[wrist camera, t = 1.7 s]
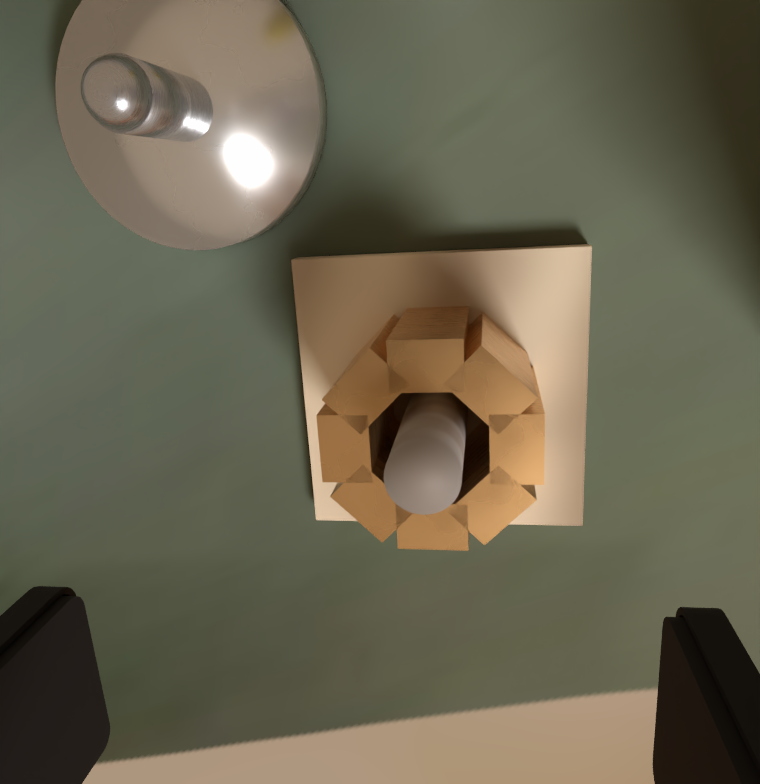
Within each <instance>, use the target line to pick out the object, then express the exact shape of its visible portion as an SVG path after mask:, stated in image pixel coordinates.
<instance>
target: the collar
mask: <svg viewBox="0 0 760 784" xmlns="http://www.w3.org/2000/svg"><path fill="white" fill-rule="evenodd" d="M439 392H452V393H453V394H454V395H456V396H457V397H458V398H459V399H460V400H461V401H462V402H463V403H464V404H465V405H466V406H468V407H469V408H470V409H471V410H472V411H473V412H474V413H475V414H476V415H477V416H478V417H480V418H481V419H482V420H483V421H482V422H481V423H480V424H479V425H478V426H477V427H476V428H475V429H474V430H473V431H472V432H471V433H470V434H469V435H468V436H467V437H466V439H465V450H464V461H463V472H462V483H461V489H460V492H459V494H458V496H457V498H456V499H455V501H454V502H453V503H452V504H451V505H450V506H449V507H448V508H446V509H444V510H443V511H440V512H438V513H434V514H427V515H422V514H415V513H411V512H409V511H406V510H404V509H403V508H401V507H400V506H398V505H397V504H396V503H395V502H394V501H393V500H392V499H391V498H390V496H389V494H388V493H387V490H386V488H385V484H384V469H385V466H386V463H387V460H388V458H389V455H390V452H391V449H392V447H393V444H394V441H395V438H396V436H397V433H398V430H399V427H400V425H401V421H400V420H399V419H398V418H397V417H396V416H395V415H394V400H395V399H396V398H397V397H398V396H399V395H400V394H401V393H439ZM322 401H323V402H325V404H324V406H323V407H322V408H321V410H320V411H319V412H318V414H317V415H316V418H317V429H318V439H319V450H320V461H321V472H322V482H337V484H336V486H335V488H334V490H333V492H332V494H331V496H330V497H331V498H332V499H333V500H334V501H336V502H337V503H338V504H339V505H340V506H341V507H342V508H343V509H345V510H346V511H347V512H348V513H349V514H350V515H351V516H353V517H354V518H355V519H356V520H357V521H358V522H359V523H361V524H362V525H363V526H364V527H365V528H366V529H367V530H369V531H370V532H371V533H372V534H373V535H374V536H375V537H377V538H378V539H379V540H380V541H381V542H383V541H384V540H385V539H386V538H387V537H389V536H390V535H391V534H392V533H393V532H394V531H395V530H396V529H397V541H398V549H431V550H466V551H468V548H469V532H470V533H471V534H472V535H474V536H475V537H476V538H477V539H478V540H479V541H480V542H481V543H483V544H484V545H485V544H486V543H487V542H489V541H490V540H491V539H492V538H493V537H494V536H496V535H497V534H498V533H499V532H500V531H501V530H503V529H504V528H505V527H506V526H507V525H508V524H509V523H511V522H512V521H513V520H514V519H515V518H516V517H518V516H519V515H520V514H521V513H522V512H523V511H525V510H526V509H527V508H528V507H529V506H530V505H532V504H533V503H534V502H535V501H536V500H537V498H536V492H535V485H544V454H545V412H544V408H543V404H542V400H541V396H540V391H539V387H538V383H537V379H536V375H535V371H534V367H533V366H530V361H529V357H528V353H527V352H526V351H525V350H524V349H523V348H522V347H521V346H520V345H518V344H517V343H516V342H515V341H514V340H513V339H512V338H511V337H510V336H509V335H508V334H507V333H506V332H505V331H503V330H502V329H501V328H500V327H499V326H498V325H497V324H496V323H495V322H494V321H493V320H492V319H491V318H490V317H489V316H487V315H486V314H485V313H484V312H482V313H481V314H480V315H479V316H478V317H477V318H476V319H475V320H474V321H473V322H472V323H471V324H470V325H469V306H451V307H420V308H407V309H406V310H405V312H404V314H403V315H402V317H401V318H400V319H399V318H398V317H397V316H396V315H395V314H393V315H392V317H391V318H390V319H389V320H388V321H387V322H386V323H385V324H384V325H383V326H382V327H381V328H380V330H379V331H378V332H377V333H376V334H375V335H374V336H373V337H372V338H371V339H370V340H369V342H368V343H367V344H366V345H365V346H364V347H363V348H362V349H361V350H360V351H359V352H358V353H357V355H356V356H355V357H354V358H353V359H352V361H351V362H350V363H349V365H348V366H347V367H346V369H345V370H344V371H343V372H342V374H341V375H340V376H339V378H338V379H337V380H336V382H335V383H334V384H333V385H332V387H331V388H330V389H329V391H328V392H327V393H326V395H325V396H324V397H323V398H322Z"/></svg>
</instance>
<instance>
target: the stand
mask: <svg viewBox="0 0 760 784" xmlns="http://www.w3.org/2000/svg"><path fill="white" fill-rule="evenodd" d="M591 257H592V246H591V245H589V244H580V245H558V246H536V247H514V248H492V249H470V250H448V251H426V252H404V253H382V254H360V255H338V256H316V257H297V258H294V259H292V260H291V264H292V274H293V285H294V295H295V305H296V316H297V326H298V337H299V347H300V357H301V368H302V378H303V388H304V399H305V409H306V419H307V430H308V440H309V450H310V461H311V471H312V482H313V492H314V502H315V513H316V520H337V521H357V520H356V519H355V518H354V517H353V516H351V515H350V514H349V513H348V512H347V511H346V510H345V509H343V508H342V507H341V506H340V505H339V504H338V503H337V502H336V501H334V500H333V499H332V498H331V497H330V496H331V494H332V492H333V490H334V488H335V486H336V484H337V482H322V472H321V461H320V450H319V439H318V429H317V418H316V415H317V414H318V412H319V411H320V410H321V408H322V407H323V406H324V404H325V402H323V401H322V398H323V397H324V396H325V395H326V393H327V392H328V391H329V389H330V388H331V387H332V385H333V384H334V383H335V382H336V380H337V379H338V378H339V376H340V375H341V374H342V372H343V371H344V370H345V369H346V367H347V366H348V365H349V363H350V362H351V361H352V359H353V358H354V357H355V356H356V355H357V353H358V352H359V351H360V350H361V349H362V348H363V347H364V346H365V345H366V344H367V343H368V342H369V340H370V339H371V338H372V337H373V336H374V335H375V334H376V333H377V332H378V331H379V330H380V328H381V327H382V326H383V325H384V324H385V323H386V322H387V321H388V320H389V319H390V318H391V317H392V315H393V314H395V315H396V316H397V317H398V318H399V319H400V318H401V317H402V315H403V314H404V312H405V310H406V309H407V308H420V307H451V306H469V325H470V324H471V323H472V322H473V321H474V320H475V319H476V318H477V317H478V316H479V315H480V314H481V313H482V312H484V313H485V314H486V315H487V316H489V317H490V318H491V319H492V320H493V321H494V322H495V323H496V324H497V325H498V326H499V327H500V328H501V329H502V330H503V331H505V332H506V333H507V334H508V335H509V336H510V337H511V338H512V339H513V340H514V341H515V342H516V343H517V344H518V345H520V346H521V347H522V348H523V349H524V350H525V351H526V352H527V353H528V357H529V361H530V366H533V367H534V371H535V375H536V379H537V383H538V387H539V391H540V396H541V400H542V404H543V408H544V412H545V454H544V485H535V492H536V498H537V500H536V501H535V502H534V503H533V504H532V505H530V506H529V507H528V508H527V509H526V510H525V511H523V512H522V513H521V514H520V515H519V516H518V517H516V518H515V519H514V520H513V521H512V522H511V523H509V524H523V525H569V526H583V497H584V467H585V437H586V407H587V377H588V347H589V317H590V287H591ZM394 415H395V416H396V417H397V418H398V419H399V420H400V421H401V425H400V427H399V430H398V433H397V436H396V438H395V441H394V444H393V447H392V449H391V452H390V455H389V458H388V460H387V463H386V466H385V469H384V484H385V488H386V490H387V493H388V494H389V496H390V498H391V499H392V500H393V501H394V502H395V503H396V504H397V505H398V506H400V507H401V508H403V509H404V510H406V511H409V512H411V513H415V514H422V515H427V514H434V513H438V512H440V511H443V510H444V509H446V508H448V507H449V506H450V505H451V504H452V503H453V502H454V501H455V499H456V498H457V496H458V494H459V492H460V489H461V483H462V472H463V461H464V450H465V439H466V437H467V436H468V435H469V434H470V433H471V432H472V431H473V430H474V429H475V428H476V427H477V426H478V425H479V424H480V423H481V422H482V421H483V420H482V419H481V418H480V417H478V416H477V415H476V414H475V413H474V412H473V411H472V410H471V409H470V408H469V407H468V406H466V405H465V404H464V403H463V402H462V401H461V400H460V399H459V398H458V397H457V396H456V395H454V394H453V393H452V392H439V393H401V394H400V395H399V396H398V397H397V398H396V399H395V400H394Z"/></svg>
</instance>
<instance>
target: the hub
mask: <svg viewBox="0 0 760 784" xmlns="http://www.w3.org/2000/svg"><path fill="white" fill-rule="evenodd" d="M55 93H56V108H57V115H58V122H59V126H60V130H61V134H62V138H63V141H64V144H65V147H66V149H67V152H68V155H69V157H70V160H71V162H72V164H73V166H74V168H75V170H76V172H77V174H78V175H79V177H80V179H81V180H82V182H83V183H84V185H85V186H86V188H87V190H88V191H89V192H90V193H91V195H92V196H93V197H94V198H95V200H96V201H97V202H98V203H99V204H100V205H101V206H102V207H103V208H104V209H105V210H106V211H107V212H108V213H109V214H110V215H111V216H112V217H113V218H114V219H116V220H117V221H118V222H119V223H121V224H122V225H123V226H125V227H126V228H128V229H129V230H131V231H133V232H134V233H136V234H138V235H139V236H141V237H144V238H146V239H148V240H150V241H153V242H155V243H158V244H161V245H165V246H168V247H172V248H178V249H185V250H208V249H216V248H222V247H226V246H230V245H234V244H237V243H241V242H245V241H248V240H250V239H252V238H255V237H257V236H259V235H261V234H263V233H264V232H266V231H268V230H269V229H271V228H273V227H274V226H275V225H277V224H278V223H279V222H280V221H281V220H283V219H284V218H285V217H286V216H287V215H288V214H289V213H290V212H291V211H292V210H293V209H294V207H295V206H296V205H297V204H298V203H299V201H300V200H301V198H302V197H303V195H304V194H305V193H306V191H307V189H308V188H309V186H310V184H311V182H312V180H313V178H314V176H315V174H316V171H317V168H318V165H319V162H320V160H321V156H322V152H323V148H324V143H325V137H326V127H327V100H326V93H325V85H324V80H323V76H322V73H321V69H320V65H319V62H318V59H317V57H316V54H315V52H314V49H313V47H312V44H311V43H310V41H309V39H308V37H307V35H306V33H305V31H304V30H303V28H302V26H301V25H300V24H299V22H298V21H297V19H296V18H295V16H294V15H293V14H292V12H291V11H290V10H289V9H288V8H287V7H286V6H285V5H284V4H283V2H282V1H281V0H82V1H81V3H80V4H79V6H78V7H77V9H76V10H75V12H74V14H73V16H72V18H71V20H70V22H69V24H68V26H67V29H66V32H65V35H64V38H63V40H62V43H61V47H60V52H59V57H58V61H57V69H56V80H55Z"/></svg>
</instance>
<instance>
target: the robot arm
mask: <svg viewBox="0 0 760 784" xmlns="http://www.w3.org/2000/svg"><path fill="white" fill-rule="evenodd" d="M109 735H110V723H109V718H108V714H107V709H106V704H105V699H104V695H103V690H102V685H101V681H100V676H99V671H98V667H97V662H96V657H95V652H94V648H93V643H92V638H91V634H90V629H89V624H88V619H87V615H86V610H85V605H84V602H83V600H82V599H81V598H80V597H78V596H76V594H75V592H74V591H73V590H72V589H71V588H68V587H46V586H38V587H33V588H32V589H30V590H29V591H28V592H27V593H25V594H24V595H23V596H22V597H21V598H20V599H19V600H18V601H16V602H15V603H14V604H13V605H12V606H11V607H10V608H9V609H8V610H6V611H5V612H4V613H3V614H2V615H1V616H0V784H82V783H83V781H84V779H85V778H86V777H87V775H88V773H89V772H90V771H91V769H92V768H93V766H94V765H95V763H96V762H97V760H98V759H99V757H100V756H101V754H102V753H103V751H104V749H105V747H106V745H107V742H108V739H109ZM653 774H654V781H655V784H760V674H759V672H758V670H757V668H756V667H755V665H754V663H753V662H752V660H751V658H750V656H749V655H748V653H747V651H746V649H745V648H744V646H743V644H742V643H741V641H740V639H739V637H738V636H737V634H736V632H735V630H734V629H733V627H732V625H731V624H730V622H729V620H728V618H727V617H726V615H725V613H724V612H723V611H722V610H721V609H719V608H690V607H680V608H678V610H677V613H676V617H665V618H664V621H663V629H662V643H661V656H660V670H659V684H658V697H657V712H656V724H655V738H654V751H653Z"/></svg>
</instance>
